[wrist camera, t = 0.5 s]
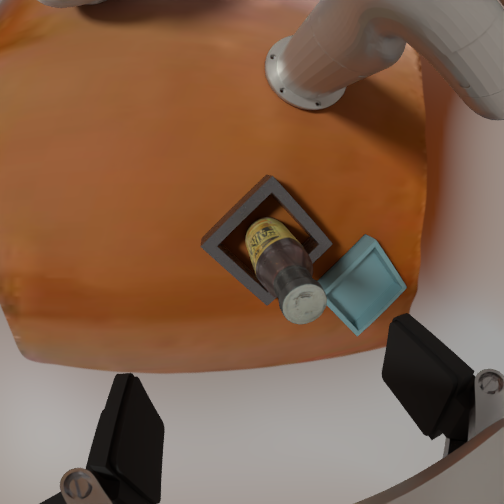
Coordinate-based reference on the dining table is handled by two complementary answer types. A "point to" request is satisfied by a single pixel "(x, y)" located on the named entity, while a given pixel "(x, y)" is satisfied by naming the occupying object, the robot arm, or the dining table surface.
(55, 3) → the ceramic pitcher
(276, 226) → the sauce bottle
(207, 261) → the dining table surface
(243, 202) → the steel collar
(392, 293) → the teal tray
